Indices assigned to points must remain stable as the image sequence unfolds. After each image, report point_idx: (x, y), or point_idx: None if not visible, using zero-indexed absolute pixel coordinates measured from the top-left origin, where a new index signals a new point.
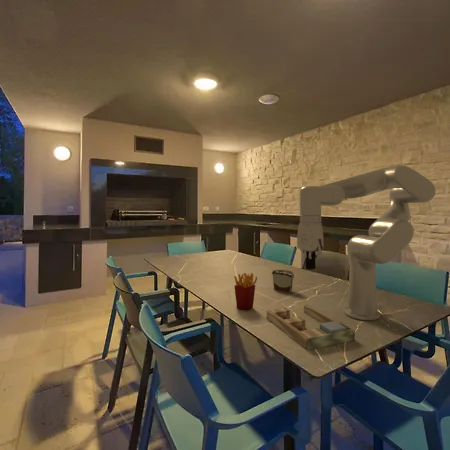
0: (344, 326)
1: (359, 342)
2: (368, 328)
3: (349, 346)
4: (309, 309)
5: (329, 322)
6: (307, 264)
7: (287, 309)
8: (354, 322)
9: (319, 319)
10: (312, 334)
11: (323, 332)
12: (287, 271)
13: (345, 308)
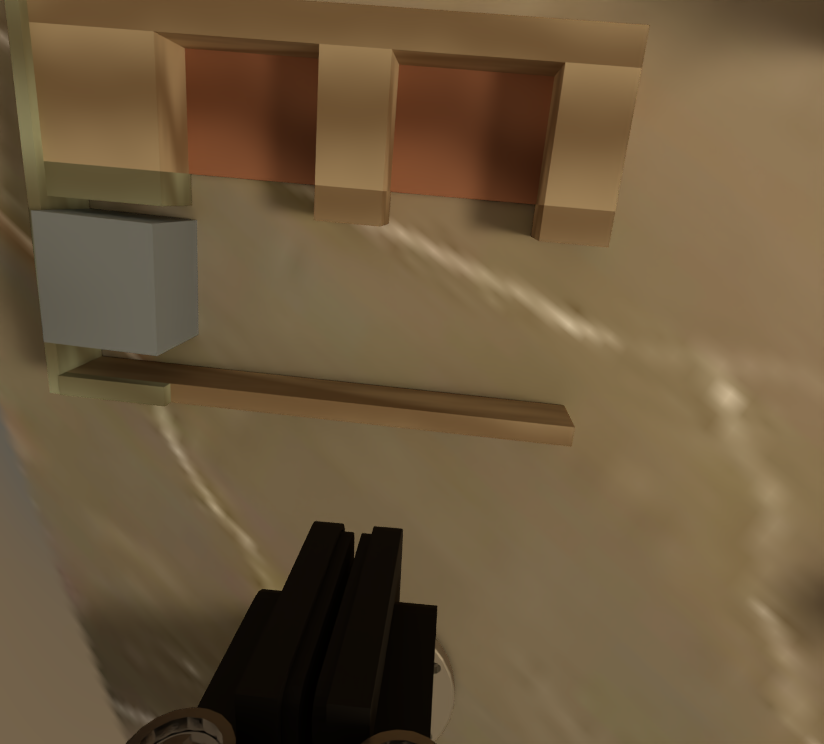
0: (117, 379)
1: None
2: (192, 555)
3: None
4: (497, 415)
5: (148, 306)
6: (336, 588)
7: (566, 234)
8: (284, 558)
9: (378, 390)
10: (82, 85)
11: (90, 187)
12: None
13: (438, 660)
